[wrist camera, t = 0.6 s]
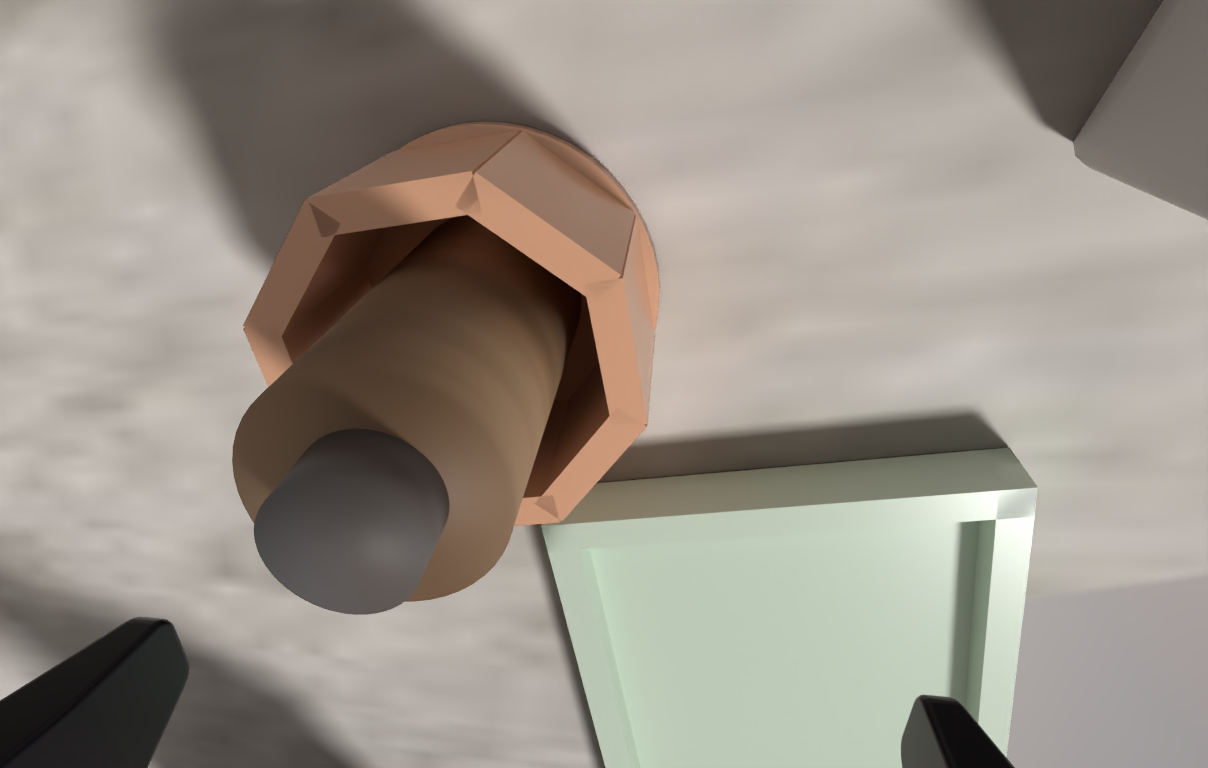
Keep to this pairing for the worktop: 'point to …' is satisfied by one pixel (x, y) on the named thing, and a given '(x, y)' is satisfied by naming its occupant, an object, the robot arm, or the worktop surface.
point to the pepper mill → (409, 427)
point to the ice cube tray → (1158, 111)
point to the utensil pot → (526, 221)
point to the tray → (795, 607)
